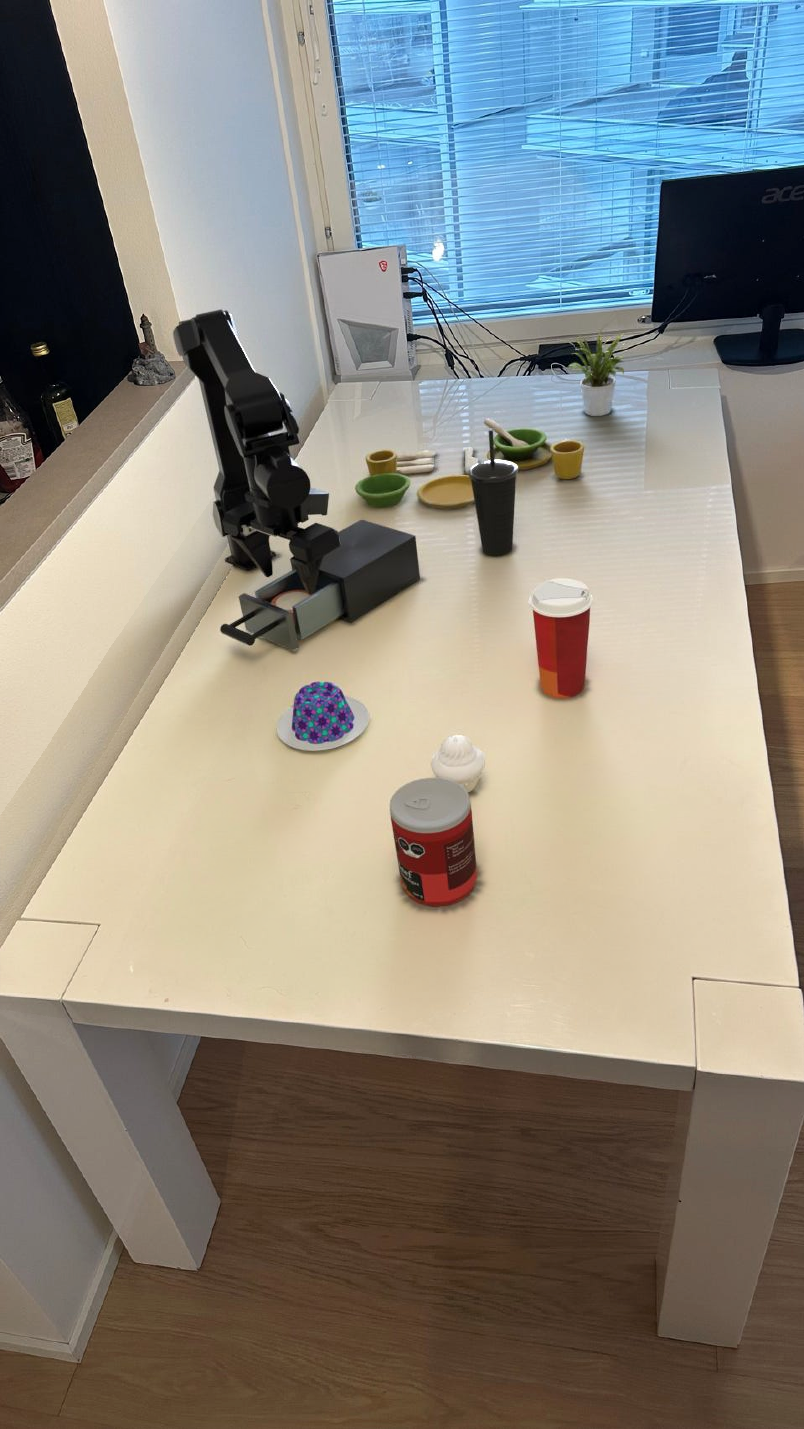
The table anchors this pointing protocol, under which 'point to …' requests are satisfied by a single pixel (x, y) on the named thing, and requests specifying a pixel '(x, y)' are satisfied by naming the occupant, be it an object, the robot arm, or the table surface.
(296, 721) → the pudding
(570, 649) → the paper cup
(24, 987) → the table surface
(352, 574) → the cabinet
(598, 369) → the house plant
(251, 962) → the table surface
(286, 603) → the round tin
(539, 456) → the tableware set
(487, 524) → the drinking cup
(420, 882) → the canned food
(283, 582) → the drawer
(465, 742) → the muffin
